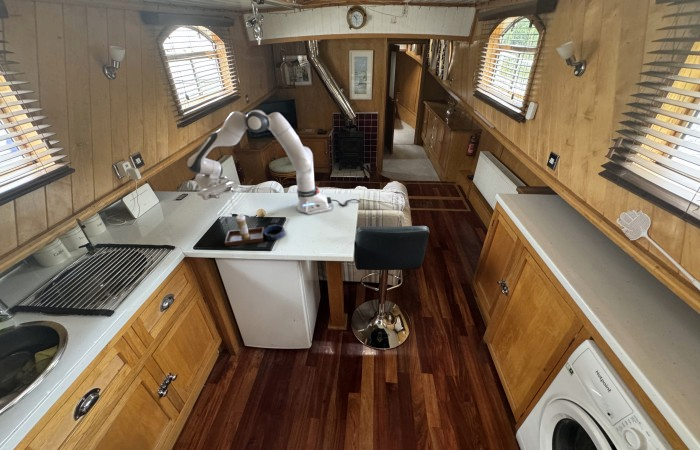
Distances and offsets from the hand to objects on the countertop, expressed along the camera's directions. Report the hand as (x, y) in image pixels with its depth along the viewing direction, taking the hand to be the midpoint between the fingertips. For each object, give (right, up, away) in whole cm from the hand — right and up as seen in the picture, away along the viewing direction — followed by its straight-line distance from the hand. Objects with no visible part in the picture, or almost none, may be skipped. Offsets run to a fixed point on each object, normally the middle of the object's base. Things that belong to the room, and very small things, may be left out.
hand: (226, 193), depth 155 cm
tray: (+9, -24, +5) cm, 27 cm away
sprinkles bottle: (+9, -24, +5) cm, 26 cm away
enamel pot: (+25, -23, +8) cm, 34 cm away
